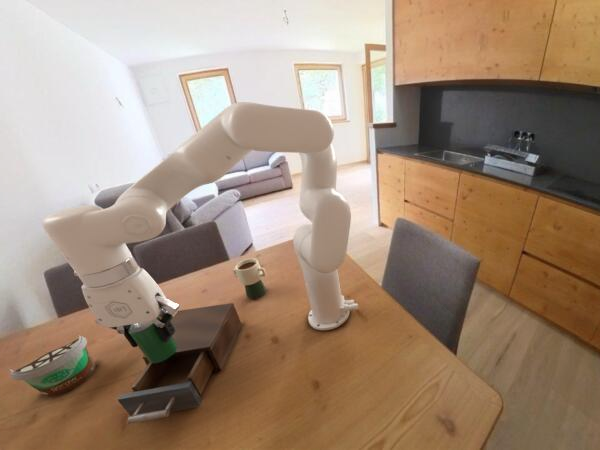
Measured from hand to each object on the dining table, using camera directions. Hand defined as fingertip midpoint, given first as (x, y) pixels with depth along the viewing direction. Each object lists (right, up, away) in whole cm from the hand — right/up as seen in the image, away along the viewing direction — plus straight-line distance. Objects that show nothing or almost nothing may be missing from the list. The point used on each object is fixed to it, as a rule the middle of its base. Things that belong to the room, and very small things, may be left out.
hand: (154, 338), depth 60 cm
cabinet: (-2, -10, +17) cm, 20 cm away
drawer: (0, -15, +6) cm, 16 cm away
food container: (-29, -16, +10) cm, 35 cm away
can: (0, -4, +2) cm, 4 cm away
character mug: (+2, 0, +38) cm, 38 cm away
